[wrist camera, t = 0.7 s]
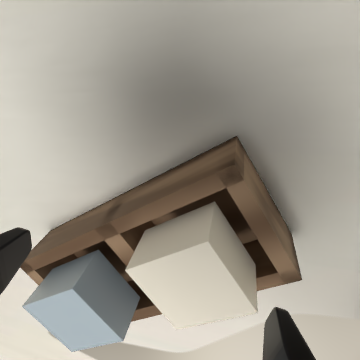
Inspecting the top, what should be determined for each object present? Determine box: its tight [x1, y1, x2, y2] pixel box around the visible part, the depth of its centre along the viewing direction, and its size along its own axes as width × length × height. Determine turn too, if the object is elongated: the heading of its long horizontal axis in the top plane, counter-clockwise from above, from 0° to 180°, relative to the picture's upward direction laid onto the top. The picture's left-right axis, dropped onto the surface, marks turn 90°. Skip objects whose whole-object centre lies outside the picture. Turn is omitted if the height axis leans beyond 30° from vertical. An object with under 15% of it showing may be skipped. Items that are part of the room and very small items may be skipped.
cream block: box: [125, 201, 258, 330], centre depth 18 cm, size 6×6×4 cm
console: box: [20, 136, 302, 322], centre depth 24 cm, size 10×22×5 cm, turn 123°
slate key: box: [22, 250, 140, 352], centre depth 23 cm, size 6×6×4 cm
